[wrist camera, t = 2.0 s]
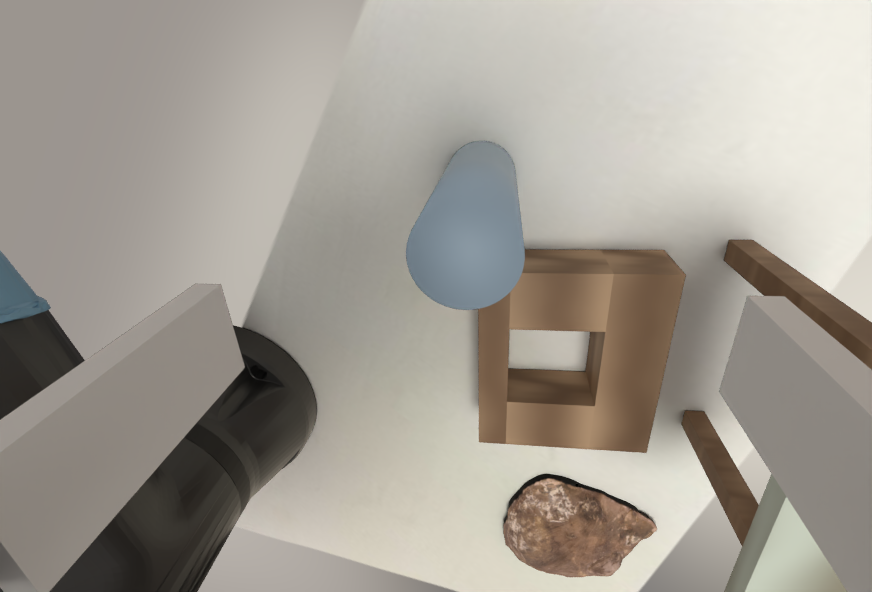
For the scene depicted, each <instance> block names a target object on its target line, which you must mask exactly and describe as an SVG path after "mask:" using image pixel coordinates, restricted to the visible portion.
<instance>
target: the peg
mask: <svg viewBox="0 0 872 592" xmlns="http://www.w3.org/2000/svg"><path fill="white" fill-rule="evenodd" d="M406 259H407V265H408V268H409V272H410V274H411V276H412V278H413V280H414V281H415V283H416V285H417V286H418V287H419V288H420V290H421V291H422V292H423V293H424V294H425V295H427V296H428V297H429V298H431V299H432V300H434V301H435V302H437V303H439V304H442V305H444V306H447V307H450V308H454V309H461V310H474V309H480V308H484V307H487V306H490V305H492V304H494V303H496V302H498V301H500V300H501V299H502V298H504V297H505V296H506V295H507V294H508V293H509V292H511V290H512V289H513V288H514V287H515V285H516V284H517V282H518V280H519V279H520V276H521V274H522V271H523V267H524V261H525V250H524V241H523V233H522V224H521V215H520V207H519V198H518V190H517V181H516V172H515V166H514V163H513V161H512V159H511V157H510V155H509V154H508V153H507V152H506V150H504V149H503V148H502V147H501V146H499V145H497V144H495V143H492V142H489V141H475V142H471V143H469V144H466V145H465V146H463V147H462V148H460V149H459V150H458V151H457V152H456V153H455V154H454V156H453V157H452V159H451V161H450V162H449V164H448V166H447V168H446V170H445V171H444V173H443V175H442V177H441V178H440V180H439V182H438V184H437V186H436V187H435V189H434V191H433V193H432V195H431V196H430V198H429V200H428V202H427V203H426V205H425V207H424V209H423V211H422V212H421V214H420V216H419V218H418V219H417V221H416V223H415V225H414V227H413V228H412V230H411V233H410V235H409V238H408V242H407V248H406Z"/></svg>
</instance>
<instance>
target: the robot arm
mask: <svg viewBox="0 0 872 592" xmlns="http://www.w3.org/2000/svg"><path fill="white" fill-rule="evenodd" d="M50 308H51V307H50V306H49V304H48V303H47V301H46V300H44V299H43V298H42V297H39V296H37V295H36V294H35V293H34V291H33V290H32V289H31V288H30V286H29V285H28V284H27V283H26V282H25V280H24V279H23V278H22V277H21V275H20V274H19V273H18V272H17V270H16V269H15V268H14V267H13V265H12V264H11V263H10V262H9V260H8V259H7V258H6V257H5V256H4V254H3V253H2V252H1V251H0V592H197V591H198V590H199V588H200V586H201V584H202V582H203V580H204V579H205V577H206V575H207V574H208V572H209V570H210V568H211V566H212V565H213V563H214V561H215V559H216V557H217V556H218V554H219V552H220V551H221V548H222V547H223V545H224V543H225V542H226V540H227V538H228V536H229V535H230V533H231V531H232V529H233V527H234V526H235V524H236V522H237V520H238V519H239V517H240V515H241V514H242V512H243V510H244V509H245V507H246V505H247V503H248V502H249V500H250V499H251V497H252V496H253V495H255V494H256V493H257V492H258V491H259V490H260V489H261V488H262V487H263V486H264V485H265V484H266V483H267V482H268V481H269V480H271V479H272V478H273V477H274V476H275V475H276V474H277V473H278V472H279V471H280V470H281V469H283V468H284V467H286V466H287V465H288V464H289V463H291V462H292V461H293V460H294V459H295V458H296V457H297V456H298V454H299V453H300V452H301V450H302V449H303V447H304V445H305V443H306V442H307V440H308V438H309V436H310V434H311V432H312V430H313V428H314V425H315V421H316V414H317V409H316V400H315V396H314V393H313V390H312V388H311V385H310V383H309V381H308V379H307V378H306V376H305V374H304V373H303V371H302V370H301V369H300V367H299V366H298V365H297V364H296V363H295V362H294V360H293V359H292V358H291V357H290V356H289V355H288V354H286V353H285V352H284V351H283V350H282V349H280V348H279V347H278V346H277V345H275V344H274V343H272V342H271V341H269V340H267V339H266V338H264V337H262V336H260V335H258V334H256V333H254V332H252V331H249V330H246V329H244V328H241V327H237V326H233V325H232V321H231V318H230V314H229V311H228V308H227V304H226V300H225V297H224V293H223V290H222V286H221V284H194V285H193V286H191V287H190V288H189V289H187V290H186V291H184V292H183V293H181V294H180V295H178V296H177V297H176V298H174V299H173V300H171V301H170V302H169V303H167V304H166V305H164V306H163V307H161V308H160V309H158V310H157V311H156V312H154V313H153V314H151V315H150V316H149V317H147V318H146V319H144V320H143V321H141V322H140V323H138V324H137V325H135V326H134V327H133V328H131V329H130V330H128V331H127V332H125V333H124V334H123V335H121V336H120V337H118V338H117V339H115V340H114V341H113V342H111V343H110V344H108V345H107V346H105V347H104V348H103V349H101V350H100V351H98V352H97V353H96V354H94V355H93V356H91V357H90V358H88V359H87V360H84V359H83V357H82V356H81V355H80V353H79V352H78V350H77V349H76V348H75V346H74V345H73V344H72V342H71V341H70V339H69V338H68V337H67V335H66V334H65V332H64V331H63V330H62V328H61V327H60V326H59V324H58V323H57V321H56V320H55V319H54V317H53V316H52V314H51V313H50V312H49V309H50ZM719 392H720V394H721V395H722V397H723V399H724V400H725V402H726V403H727V405H728V406H729V408H730V410H731V411H732V413H733V414H734V416H735V417H736V419H737V420H738V422H739V424H740V425H741V427H742V428H743V430H744V431H745V433H746V434H747V436H748V438H749V439H750V441H751V442H752V444H753V445H754V447H755V448H756V450H757V451H758V453H759V455H760V456H761V458H762V459H763V461H764V463H765V464H766V466H767V467H768V468H769V470H770V472H771V473H772V475H773V477H774V478H775V480H776V481H777V483H778V484H779V486H780V487H781V489H782V491H783V492H784V494H785V495H786V497H787V498H788V500H789V501H790V503H791V505H792V506H793V508H794V509H795V511H796V512H797V514H798V516H799V517H800V519H801V520H802V522H803V523H804V525H805V526H806V528H807V530H808V531H809V533H810V534H811V536H812V537H813V539H814V540H815V542H816V544H817V545H818V547H819V548H820V550H821V551H822V553H823V554H824V556H825V558H826V559H827V561H828V562H829V564H830V565H831V567H832V569H833V570H834V572H835V573H836V575H837V576H838V578H839V579H840V581H841V583H842V584H843V586H844V587H845V589H846V590H847V592H872V370H871V369H870V368H869V367H868V366H867V365H865V364H864V363H863V362H862V361H861V360H859V359H858V358H857V357H856V356H855V355H853V354H852V353H851V352H850V351H849V350H848V349H846V348H845V347H844V346H843V345H842V344H840V343H839V342H838V341H837V340H836V339H834V338H833V337H832V336H831V335H830V334H829V333H827V332H826V331H825V330H824V329H823V328H821V327H820V326H819V325H818V324H817V323H815V322H814V321H813V320H812V319H811V318H810V317H808V316H807V315H806V314H805V313H804V312H802V311H801V310H800V309H799V308H798V307H796V306H795V305H794V304H793V303H792V302H791V301H789V300H788V299H787V298H786V297H785V296H747V299H746V302H745V306H744V309H743V313H742V316H741V319H740V323H739V326H738V329H737V333H736V336H735V339H734V343H733V346H732V350H731V353H730V356H729V360H728V363H727V366H726V370H725V373H724V376H723V380H722V383H721V387H720V390H719Z"/></svg>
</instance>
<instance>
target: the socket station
mask: <svg viewBox="0 0 872 592" xmlns="http://www.w3.org/2000/svg"><path fill="white" fill-rule="evenodd" d="M524 250H525V261H524V267H523V271H522V274H521V276H520V279H519V280H518V282H517V284H516V285H515V287H514V288H513V289H512V290H511V292H509V293H508V294H507V295H506V296H505V297H504V298H502V299H501V300H500V301H498V302H496V303H494V304H492V305H490V306H487V307H484V308H480V309H478V335H479V442H484V443H500V444H516V445H531V446H547V447H563V448H579V449H595V450H610V451H626V452H642V453H646V452H647V448H648V443H649V439H650V434H651V430H652V425H653V421H654V416H655V412H656V407H657V403H658V398H659V394H660V389H661V385H662V380H663V376H664V371H665V367H666V362H667V358H668V353H669V349H670V344H671V340H672V335H673V331H674V326H675V322H676V317H677V313H678V308H679V304H680V299H681V295H682V290H683V286H684V281H685V277H686V274H685V273H684V272H683V271H682V270H681V269H680V268H679V266H678V265H677V264H676V263H675V262H674V261H673V260H672V258H671V257H670V256H669V255H668V254H667V253H666V252H665V250H532V249H524ZM724 261H725V262H726V263H727V264H729V265H730V266H731V267H732V268H733V269H734V270H735V271H737V272H738V273H739V274H740V275H741V276H742V277H743V278H745V279H746V280H747V281H748V282H749V283H750V284H751V285H752V286H754V287H755V288H756V289H757V290H758V291H759V292H760V293H762V294H763V295H764V296H785V297H786V298H787V299H788V300H789V301H791V302H792V303H793V304H794V305H795V306H796V307H798V308H799V309H800V310H801V311H802V312H804V313H805V314H806V315H807V316H808V317H810V318H811V319H812V320H813V321H814V322H815V323H817V324H818V325H819V326H820V327H821V328H823V329H824V330H825V331H826V332H827V333H829V334H830V335H831V336H832V337H833V338H834V339H836V340H837V341H838V342H839V343H840V344H842V345H843V346H844V347H845V348H846V349H848V350H849V351H850V352H851V353H852V354H853V355H855V356H856V357H857V358H858V359H859V360H861V361H862V362H863V363H864V364H865V365H867V366H868V367H869V368H870V369H871V370H872V322H870V321H869V320H867V319H866V318H864V317H863V316H861V315H860V314H859V313H857V312H856V311H854V310H853V309H851V308H850V307H848V306H847V305H846V304H844V303H843V302H841V301H840V300H838V299H837V298H836V297H834V296H833V295H831V294H830V293H828V292H827V291H825V290H824V289H823V288H821V287H820V286H818V285H817V284H815V283H814V282H813V281H811V280H810V279H808V278H807V277H805V276H804V275H802V274H801V273H800V272H798V271H797V270H795V269H794V268H792V267H791V266H790V265H788V264H787V263H785V262H784V261H782V260H781V259H779V258H778V257H777V256H775V255H774V254H772V253H771V252H769V251H768V250H767V249H765V248H764V247H762V246H761V245H759V244H758V243H756V242H755V241H754V240H729V242H728V246H727V250H726V254H725V258H724ZM509 329H518V330H554V331H589V332H590V340H589V348H588V356H587V364H586V372H581V371H556V370H531V369H508V356H509ZM682 426H683V428H684V430H685V432H686V434H687V437H688V439H689V441H690V443H691V445H692V447H693V449H694V451H695V453H696V455H697V457H698V459H699V461H700V463H701V465H702V467H703V469H704V471H705V473H706V475H707V477H708V479H709V481H710V483H711V485H712V487H713V489H714V491H715V493H716V495H717V497H718V499H719V501H720V503H721V505H722V507H723V509H724V511H725V513H726V515H727V517H728V519H729V521H730V523H731V525H732V527H733V529H734V531H735V533H736V535H737V537H738V539H739V541H740V543H741V545H742V549H741V551H740V554H739V556H738V559H737V561H736V564H735V566H734V569H733V571H732V574H731V576H730V579H729V581H728V583H727V586H726V589H725V591H724V592H847V590H846V589H845V587H844V586H843V584H842V583H841V581H840V579H839V578H838V576H837V575H836V573H835V572H834V570H833V569H832V567H831V565H830V564H829V562H828V561H827V559H826V558H825V556H824V554H823V553H822V551H821V550H820V548H819V547H818V545H817V544H816V542H815V540H814V539H813V537H812V536H811V534H810V533H809V531H808V530H807V528H806V526H805V525H804V523H803V522H802V520H801V519H800V517H799V516H798V514H797V512H796V511H795V509H794V508H793V506H792V505H791V503H790V501H789V500H788V498H787V497H786V495H785V494H784V492H783V491H782V489H781V487H780V486H779V484H778V483H777V481H776V480H775V478H774V477H773V475H772V474H771V477H770V479H769V482H768V484H767V487H766V489H765V491H764V494H763V497H762V499H761V502H760V504H759V505H758V503H757V502H756V500H755V498H754V496H753V494H752V493H751V491H750V489H749V487H748V486H747V484H746V482H745V481H744V479H743V477H742V475H741V474H740V472H739V470H738V469H737V467H736V465H735V463H734V462H733V460H732V458H731V457H730V455H729V453H728V451H727V450H726V448H725V446H724V445H723V443H722V441H721V439H720V438H719V436H718V434H717V433H716V431H715V429H714V427H713V426H712V424H711V422H710V420H709V419H708V417H707V415H706V414H705V412H704V411H685V412H684V416H683V420H682Z"/></svg>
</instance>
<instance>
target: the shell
mask: <svg viewBox="0 0 872 592" xmlns="http://www.w3.org/2000/svg"><path fill="white" fill-rule="evenodd" d="M576 483H578V482H576V481H574V480H572V479H569V478H566V477H563V476H558V475H552V474H542V475H539V476H536V477H534V478H533V479H531V480H529V481H528V482H527V483H525V484H524V485H523V486H522V487H521V488H520V490H519V491H518V492H517V493H516V494H515V495H514V496H513V497H512V498H511V500H510V502H509V507H508V515H507V516H506V518H505V520H504V525H503V527H504V531H503V534H504V538H505V543H506V545H507V546H508V547H509V548H510V549H511V550H512V551H513V552H514V554H515V555H516V557H517V558H518V559H519V560H520V561H522V562H524V563H526V564H527V565H529V566H531V567H533V568H535V569H537V570H539V571H544V572H546V573H550V574H558V575H563V576H566V577H584V576H611V575H612V574H613V573H614V572H615V571H616V570H618V569H619V567H620V565H621V562H622V559H623V558H624V557H625V556H627V555H628V554H629V553H630V552H631V551H632V550H633V548H634V547H635V546H636V545H637V544H638V543H639V542H640V541H641V540H643V539H646V538H648V537H650V536H651V535H652V534H653V533H654V532H655V531H656V530H657V527H656V525H655V524H654V522H653V521H651V519H650V518H648V516H647V515H645V514H643V513H639V512H638V510H637V508H636V507H635V506H633V505H632V504H630V503H628V502H626V501H623V500H621V499H618V498H616V497H614V496H611V495H609V494H607V493H605V492H603V491H601V490H599V489H595V488H592V487H589V486H586V485H583V484H580V483H578V486H577V487H576V486H575V484H576ZM581 487H582V488H581Z"/></svg>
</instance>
